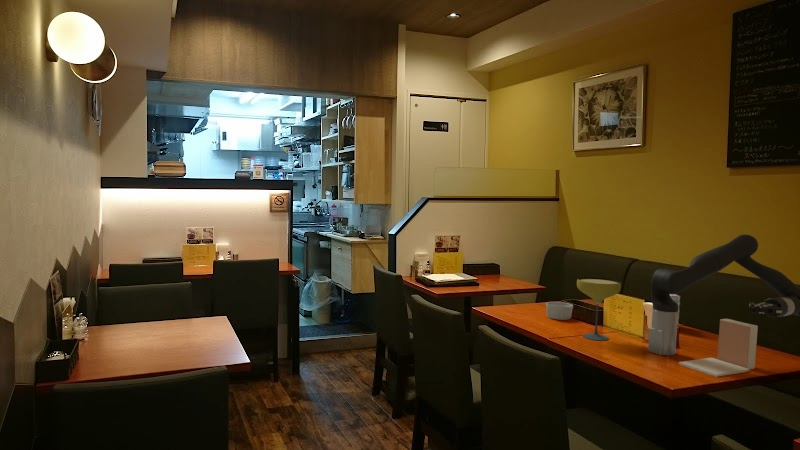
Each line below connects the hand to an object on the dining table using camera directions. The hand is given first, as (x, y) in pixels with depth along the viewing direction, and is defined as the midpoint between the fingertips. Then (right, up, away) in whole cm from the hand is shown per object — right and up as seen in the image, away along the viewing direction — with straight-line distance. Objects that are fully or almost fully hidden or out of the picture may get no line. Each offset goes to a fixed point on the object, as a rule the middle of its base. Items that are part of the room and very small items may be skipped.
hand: (750, 310), depth 218 cm
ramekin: (-54, -14, +69) cm, 88 cm away
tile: (-7, -20, -2) cm, 21 cm away
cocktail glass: (-48, -17, +31) cm, 60 cm away
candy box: (-6, -17, +55) cm, 58 cm away
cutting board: (-18, -20, -7) cm, 28 cm away
